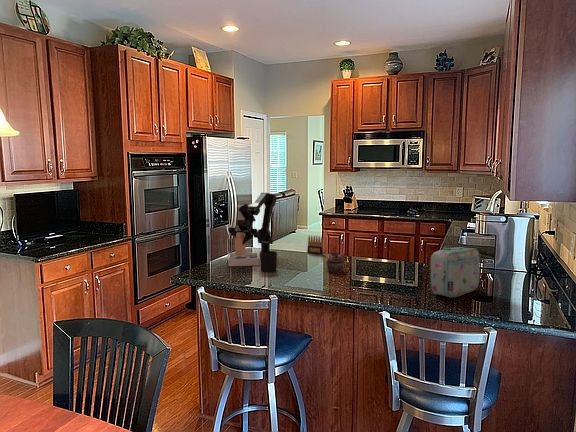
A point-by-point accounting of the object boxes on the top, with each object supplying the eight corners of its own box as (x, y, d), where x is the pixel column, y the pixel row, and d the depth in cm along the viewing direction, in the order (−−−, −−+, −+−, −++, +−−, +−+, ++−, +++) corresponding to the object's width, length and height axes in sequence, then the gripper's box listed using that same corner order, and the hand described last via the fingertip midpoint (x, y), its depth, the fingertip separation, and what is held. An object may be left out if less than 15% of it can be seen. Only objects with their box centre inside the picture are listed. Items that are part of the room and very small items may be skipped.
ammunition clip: (323, 254, 283) (323, 235, 282) (322, 254, 282) (322, 236, 280) (308, 252, 288) (308, 234, 287) (307, 253, 287) (307, 235, 285)
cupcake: (346, 272, 236) (347, 253, 235) (331, 273, 233) (331, 255, 232) (338, 268, 245) (338, 250, 244) (323, 269, 242) (323, 251, 240)
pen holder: (276, 272, 235) (276, 254, 233) (259, 272, 235) (259, 254, 234) (277, 268, 244) (277, 251, 243) (260, 268, 244) (260, 250, 243)
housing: (228, 259, 267) (228, 253, 267) (258, 258, 269) (258, 252, 269) (228, 266, 249) (228, 259, 249) (259, 265, 252) (259, 258, 251)
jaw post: (238, 253, 261) (238, 231, 259) (245, 254, 259) (245, 232, 257) (235, 254, 256) (234, 233, 255) (241, 255, 255) (241, 233, 253)
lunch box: (447, 301, 185) (449, 252, 183) (426, 295, 193) (428, 248, 191) (481, 290, 201) (484, 245, 198) (461, 285, 209) (463, 241, 207)
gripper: (229, 213, 262) (220, 234, 253) (257, 215, 255) (248, 236, 246) (236, 225, 270) (227, 245, 262) (263, 226, 263) (255, 248, 254)
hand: (239, 243), depth 256 cm, fingers closed on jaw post, 4 cm apart
